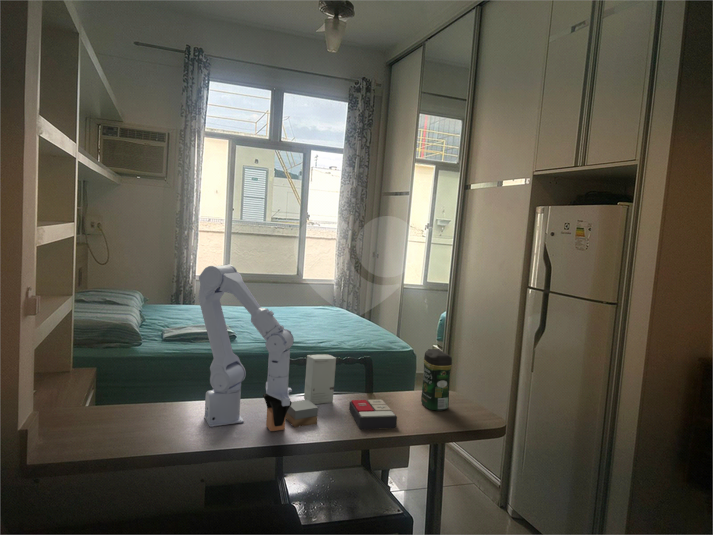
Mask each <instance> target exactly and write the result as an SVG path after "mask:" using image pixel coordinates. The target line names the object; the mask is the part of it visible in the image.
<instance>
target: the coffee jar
mask: <svg viewBox="0 0 713 535" xmlns="http://www.w3.org/2000/svg"><path fill="white" fill-rule="evenodd" d="M452 361H453V360H452V356H451V355H449V354H448V353H446V352H444V351H443V350H441V349H438V348H429V349H427V350H426V351H425V352H424V357H423V375H422V376H423V377H422V385H421V386H422V388H421V399H420V402H421V404H422V405H423V406H424V407H425V408H427V409H428V410H430V411H431V410H433V411H437V412H439V411H440V412H441V411H442V412H443V411H445V410H448V408H449V405H450V402H449V400H450V380H451V379H450V378H451V371H452V370H451V369H452V364H453V362H452Z"/></svg>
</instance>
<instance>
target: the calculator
mask: <svg viewBox="0 0 713 535" xmlns="http://www.w3.org/2000/svg"><path fill="white" fill-rule="evenodd" d="M348 410H350V411H349V413H350V414H351V416H352V417H353V420H354V421H355V422H356V425H357V428H358V429H359V430H380V429H379V428H388V429H397V422H398V416H397V415H396V414H395V413H394V411H393V410H392V409H391V408H390V407H389V406H388V405H387V403H386V402H385V401H384V400H383V399H367V400H366V399H352V400H350V401H349V409H348Z"/></svg>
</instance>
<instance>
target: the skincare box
mask: <svg viewBox="0 0 713 535" xmlns="http://www.w3.org/2000/svg"><path fill="white" fill-rule="evenodd" d="M336 364H337V357H335V356H333V355H331V354H307V355H306V366H305V367H306V368H305V381H304V394H303V400H309V401H311V402H312V403H313V404H314V405H320V404H321V405H322V404H329V403H333V402H334V391H335V390H334V389H335V376H336V367H337V366H336Z"/></svg>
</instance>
